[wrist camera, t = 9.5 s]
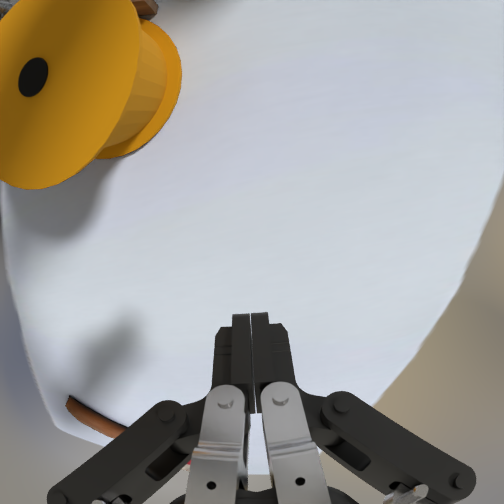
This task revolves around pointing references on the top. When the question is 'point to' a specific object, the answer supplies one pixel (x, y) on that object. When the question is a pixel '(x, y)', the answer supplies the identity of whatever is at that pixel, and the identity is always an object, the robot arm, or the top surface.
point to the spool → (79, 86)
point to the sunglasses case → (94, 419)
